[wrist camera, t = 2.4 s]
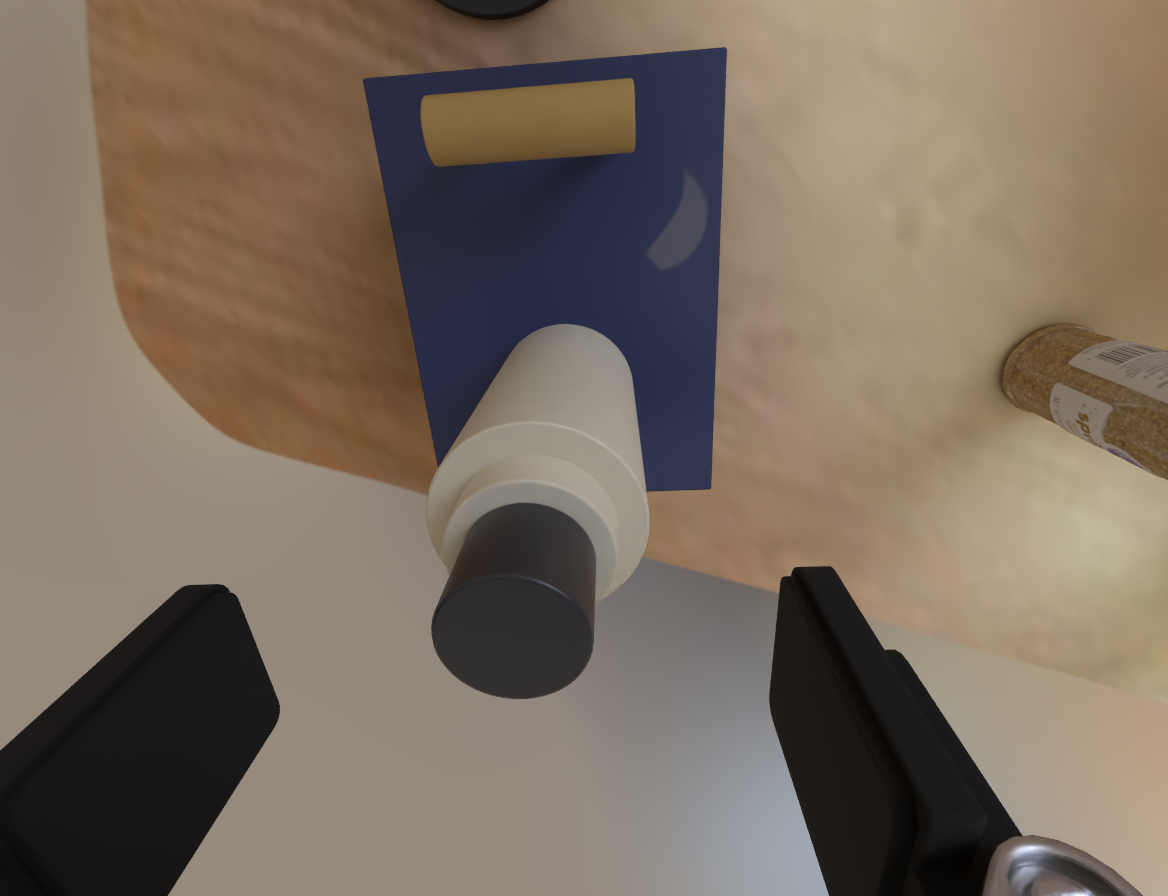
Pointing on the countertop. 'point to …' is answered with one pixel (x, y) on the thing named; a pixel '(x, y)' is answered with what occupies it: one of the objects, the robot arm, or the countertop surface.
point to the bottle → (538, 514)
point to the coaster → (492, 7)
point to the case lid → (563, 229)
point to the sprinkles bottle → (1095, 391)
